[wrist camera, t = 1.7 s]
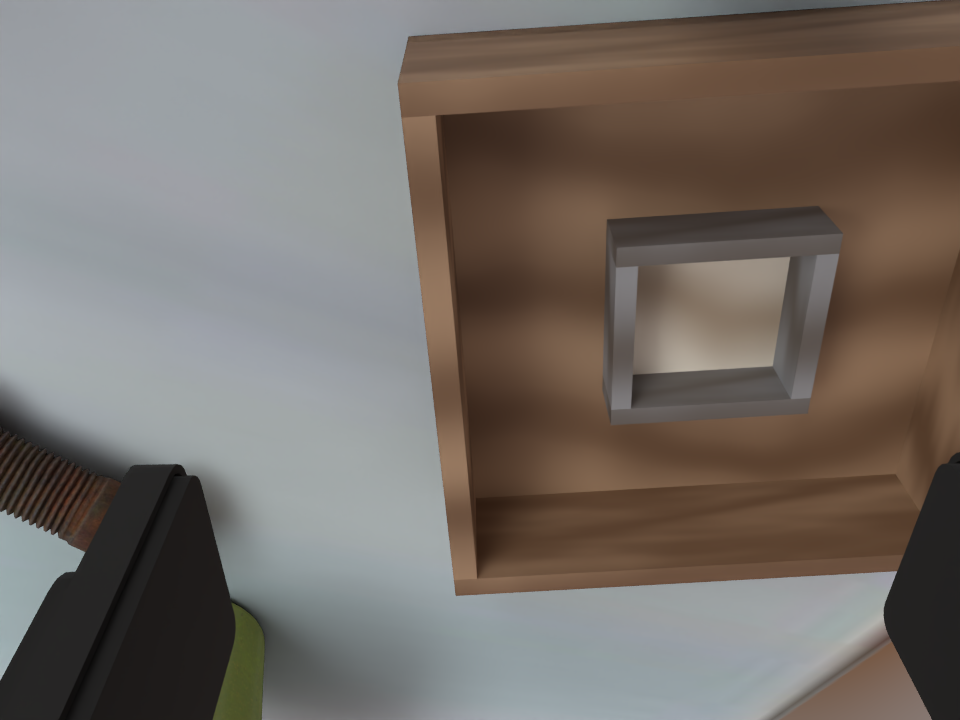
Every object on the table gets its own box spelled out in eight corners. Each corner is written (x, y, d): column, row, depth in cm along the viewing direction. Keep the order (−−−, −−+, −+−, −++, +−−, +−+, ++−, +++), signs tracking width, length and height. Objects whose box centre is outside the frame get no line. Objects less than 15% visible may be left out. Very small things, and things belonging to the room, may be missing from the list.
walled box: (408, 36, 29) (397, 83, 24) (1043, -7, 29) (1166, 32, 24) (456, 500, 41) (455, 595, 36) (902, 474, 41) (964, 567, 36)
